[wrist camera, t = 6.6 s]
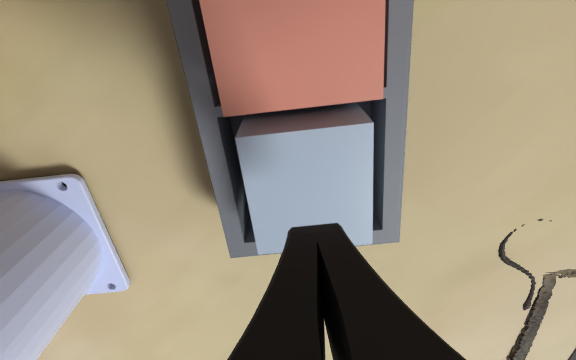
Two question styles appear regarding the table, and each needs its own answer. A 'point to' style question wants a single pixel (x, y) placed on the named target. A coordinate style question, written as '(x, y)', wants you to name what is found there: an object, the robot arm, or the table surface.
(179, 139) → the table surface
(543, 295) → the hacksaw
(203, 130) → the key housing
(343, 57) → the brick key
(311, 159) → the light blue square block
